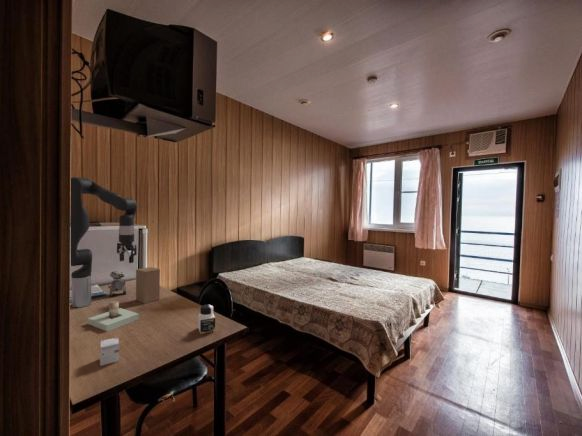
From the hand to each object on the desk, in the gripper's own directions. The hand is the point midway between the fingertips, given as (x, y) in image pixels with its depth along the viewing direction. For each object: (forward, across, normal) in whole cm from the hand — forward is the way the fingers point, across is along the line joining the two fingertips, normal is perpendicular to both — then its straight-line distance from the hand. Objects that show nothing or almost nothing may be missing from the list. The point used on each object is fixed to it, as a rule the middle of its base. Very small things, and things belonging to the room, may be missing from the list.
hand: (126, 261), depth 152 cm
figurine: (+28, -32, +14) cm, 45 cm away
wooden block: (+28, -5, +17) cm, 33 cm away
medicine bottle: (+28, +56, +5) cm, 63 cm away
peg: (+28, +9, -12) cm, 32 cm away
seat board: (+28, +9, -12) cm, 32 cm away
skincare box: (+28, +42, -33) cm, 60 cm away
